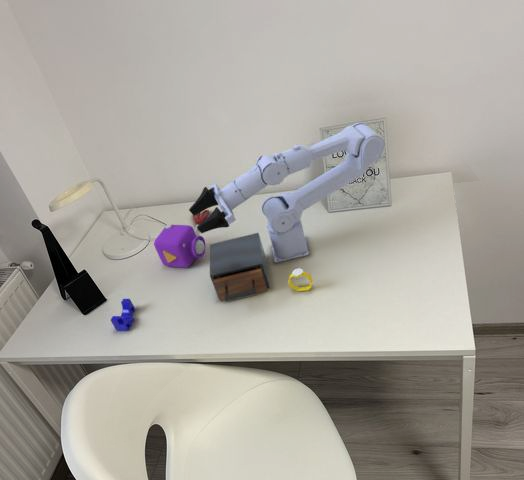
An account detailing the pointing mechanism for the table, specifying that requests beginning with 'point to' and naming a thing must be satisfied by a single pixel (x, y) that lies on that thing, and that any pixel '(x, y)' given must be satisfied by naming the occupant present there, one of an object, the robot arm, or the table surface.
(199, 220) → the scissors
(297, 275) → the watch
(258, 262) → the cabinet
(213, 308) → the table surface
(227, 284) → the drawer
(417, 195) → the table surface
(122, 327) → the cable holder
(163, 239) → the toy camera
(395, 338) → the table surface
